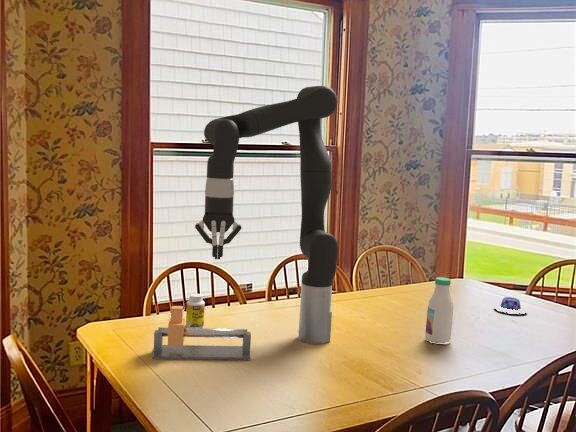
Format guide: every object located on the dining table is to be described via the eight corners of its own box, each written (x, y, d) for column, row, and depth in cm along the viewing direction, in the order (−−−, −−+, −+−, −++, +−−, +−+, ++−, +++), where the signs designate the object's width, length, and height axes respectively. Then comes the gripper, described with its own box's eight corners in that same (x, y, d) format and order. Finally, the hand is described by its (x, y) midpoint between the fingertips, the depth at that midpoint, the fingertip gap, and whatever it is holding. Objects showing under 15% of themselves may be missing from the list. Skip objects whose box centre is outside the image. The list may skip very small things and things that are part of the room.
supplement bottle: (190, 330, 189) (191, 298, 187) (182, 325, 193) (184, 293, 192) (206, 328, 192) (208, 296, 190) (199, 323, 196) (200, 292, 195)
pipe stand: (248, 349, 175) (250, 323, 174) (250, 360, 166) (251, 334, 165) (155, 347, 172) (156, 322, 171) (152, 359, 163) (153, 332, 162)
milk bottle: (452, 340, 193) (458, 278, 190) (447, 347, 186) (453, 282, 184) (427, 336, 196) (433, 274, 194) (422, 342, 189) (427, 279, 187)
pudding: (492, 313, 228) (494, 300, 227) (493, 306, 239) (494, 293, 239) (527, 318, 224) (528, 304, 223) (526, 310, 235) (527, 297, 235)
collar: (184, 339, 171) (185, 304, 170) (182, 346, 165) (184, 310, 164) (169, 339, 171) (170, 304, 169) (167, 346, 165) (168, 310, 163)
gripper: (243, 194, 168) (241, 256, 171) (195, 192, 167) (193, 255, 169) (244, 197, 161) (242, 262, 163) (193, 195, 160) (191, 261, 162)
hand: (217, 258), depth 166 cm, fingers closed
